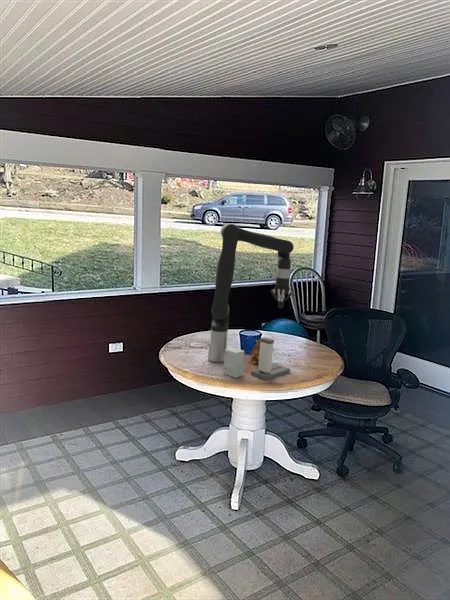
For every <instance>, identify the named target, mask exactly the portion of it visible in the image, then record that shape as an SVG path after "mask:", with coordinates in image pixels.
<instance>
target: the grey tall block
mask: <svg viewBox="0 0 450 600" xmlns="http://www.w3.org/2000/svg"><path fill="white" fill-rule="evenodd" d="M259 340H260V352H259V363H258V364H257V365H258V368H257V369H258V370H260V371H263V372H265V373H269V372H271V365H273V364H272V363H273V350H274V344H275V340H274V339H271V338H268V337H265V336H264V337H260V338H259Z"/></svg>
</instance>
